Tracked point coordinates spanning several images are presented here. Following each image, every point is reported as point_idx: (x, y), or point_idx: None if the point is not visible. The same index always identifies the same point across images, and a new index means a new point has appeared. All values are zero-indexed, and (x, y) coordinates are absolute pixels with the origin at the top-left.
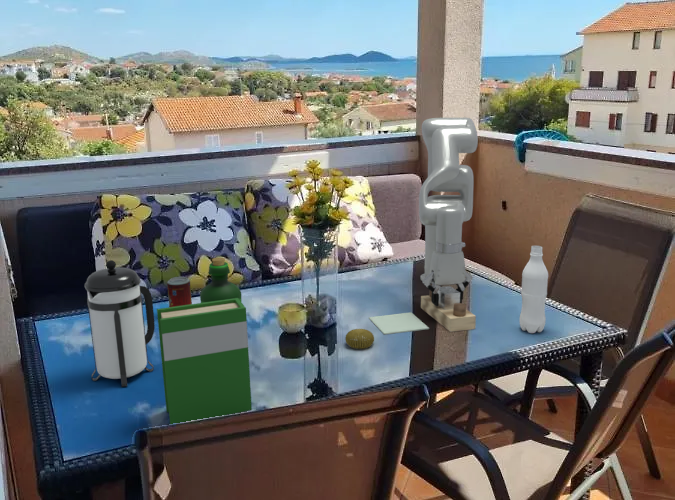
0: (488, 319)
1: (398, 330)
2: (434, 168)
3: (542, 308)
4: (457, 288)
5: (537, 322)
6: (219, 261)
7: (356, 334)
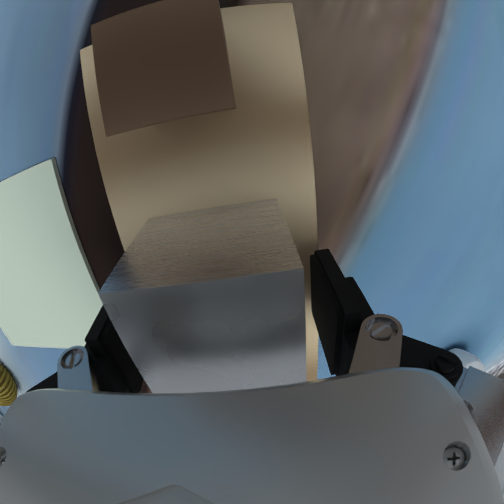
0: (406, 287)
1: (37, 340)
2: None
3: None
4: (346, 343)
5: None
6: None
7: None
